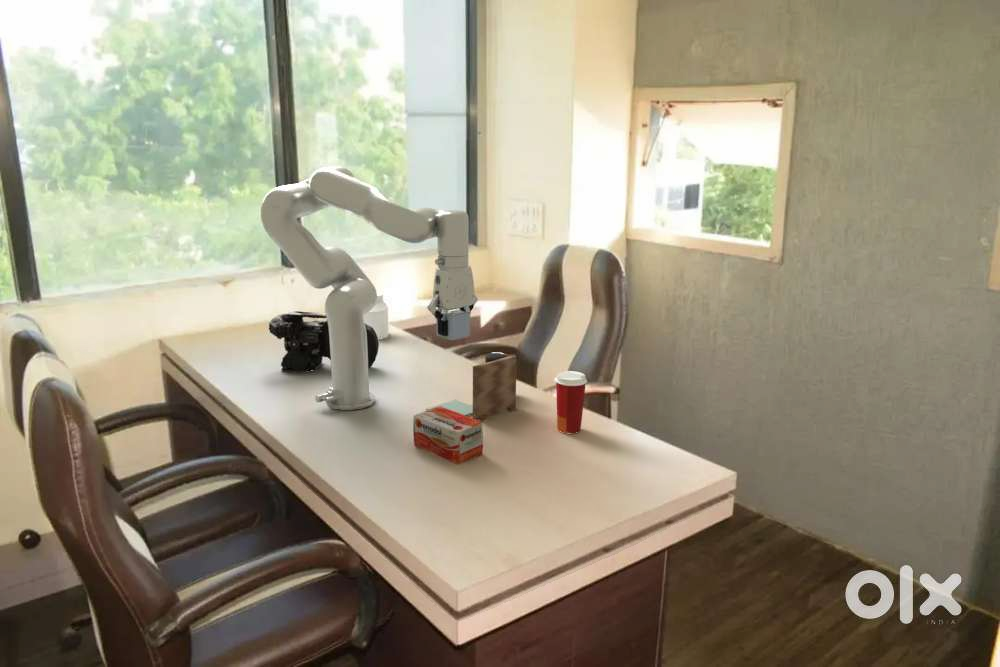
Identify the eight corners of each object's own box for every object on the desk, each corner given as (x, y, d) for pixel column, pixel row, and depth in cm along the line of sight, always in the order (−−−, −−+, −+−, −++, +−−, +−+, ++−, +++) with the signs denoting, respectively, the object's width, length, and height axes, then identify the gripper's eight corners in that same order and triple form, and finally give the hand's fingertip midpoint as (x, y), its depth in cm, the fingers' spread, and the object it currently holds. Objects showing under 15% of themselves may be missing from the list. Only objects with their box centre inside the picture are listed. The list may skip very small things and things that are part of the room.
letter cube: (451, 340, 188) (451, 315, 187) (436, 335, 192) (436, 311, 191) (470, 336, 192) (470, 312, 191) (454, 331, 197) (454, 307, 195)
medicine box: (412, 446, 177) (412, 414, 175) (438, 436, 183) (438, 404, 180) (458, 466, 167) (458, 432, 165) (484, 455, 173) (484, 421, 171)
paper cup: (587, 426, 189) (590, 372, 186) (580, 437, 182) (583, 382, 179) (557, 421, 192) (559, 368, 188) (548, 433, 185) (550, 378, 181)
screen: (479, 422, 191) (479, 368, 187) (468, 417, 194) (469, 364, 190) (519, 408, 200) (520, 357, 197) (508, 404, 203) (509, 354, 199)
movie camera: (263, 376, 220) (262, 316, 216) (281, 360, 238) (281, 305, 234) (371, 382, 220) (372, 323, 216) (381, 366, 238) (382, 311, 234)
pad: (451, 421, 191) (451, 419, 191) (426, 410, 198) (426, 408, 198) (480, 411, 198) (480, 409, 198) (455, 401, 205) (455, 399, 205)
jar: (351, 334, 267) (349, 292, 263) (376, 330, 273) (374, 289, 268) (367, 342, 258) (366, 298, 254) (392, 337, 264) (391, 295, 260)
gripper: (435, 268, 179) (435, 342, 184) (489, 259, 191) (488, 329, 195) (415, 263, 184) (416, 335, 189) (469, 255, 196) (469, 324, 201)
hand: (453, 332), depth 192 cm, fingers closed on letter cube, 6 cm apart
